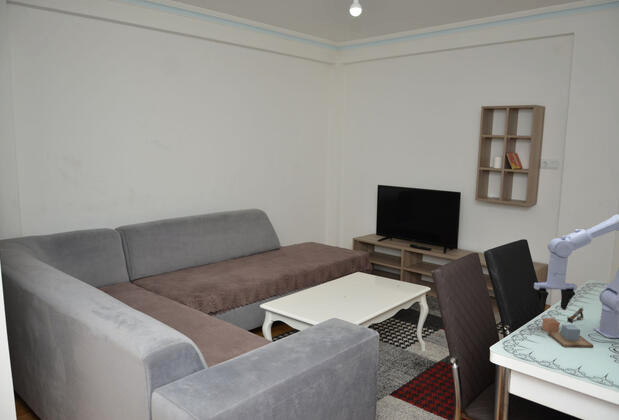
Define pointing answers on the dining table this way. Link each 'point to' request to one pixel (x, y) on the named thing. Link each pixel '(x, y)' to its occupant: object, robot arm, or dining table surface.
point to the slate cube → (570, 332)
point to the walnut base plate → (570, 341)
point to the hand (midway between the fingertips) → (552, 308)
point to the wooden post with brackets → (576, 315)
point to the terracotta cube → (550, 325)
